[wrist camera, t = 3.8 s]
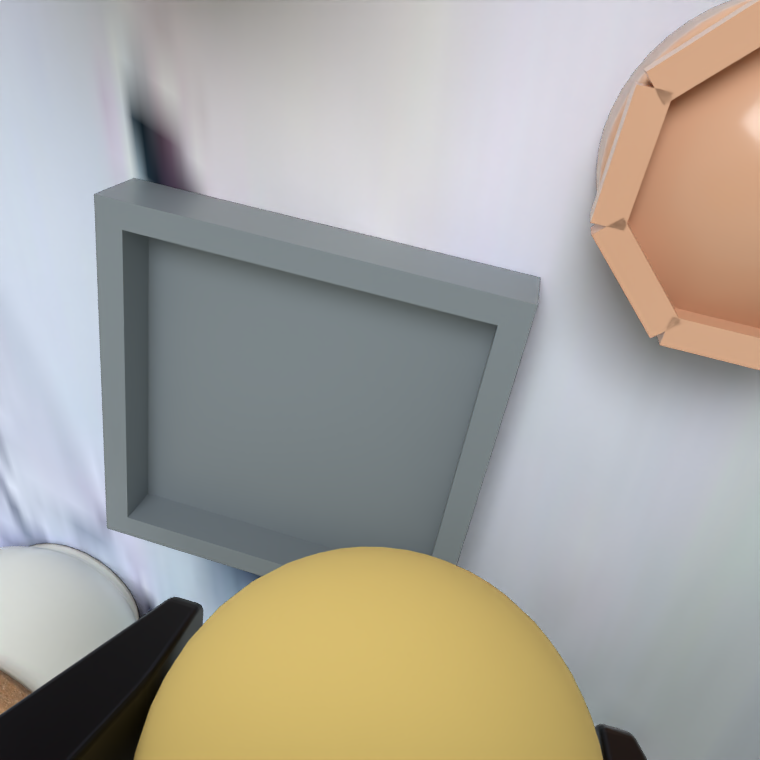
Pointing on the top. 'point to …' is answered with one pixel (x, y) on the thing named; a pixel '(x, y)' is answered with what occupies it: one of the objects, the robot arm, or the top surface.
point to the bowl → (689, 187)
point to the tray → (294, 380)
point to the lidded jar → (54, 614)
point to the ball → (369, 671)
